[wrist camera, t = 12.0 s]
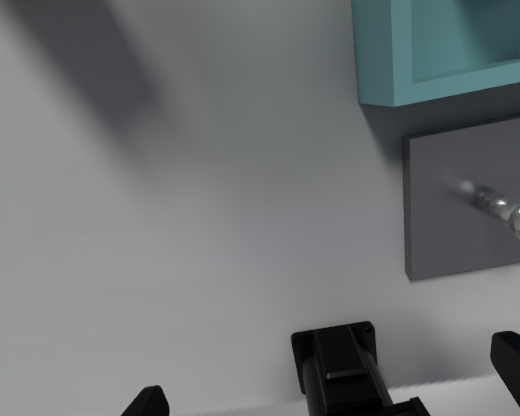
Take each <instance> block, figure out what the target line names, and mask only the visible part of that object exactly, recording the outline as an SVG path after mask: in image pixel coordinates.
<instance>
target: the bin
mask: <svg viewBox="0 0 520 416" xmlns="http://www.w3.org/2000/svg"><path fill="white" fill-rule="evenodd" d="M351 5H352V18H353V32H354V46H355V59H356V73H357V87H358V100H359V103H361V104H370V105H380V106H389V107H397V106H402V105H407V104H412V103H417V102H422V101H427V100H432V99H437V98H442V97H447V96H452V95H457V94H462V93H467V92H472V91H477V90H482V89H487V88H492V87H497V86H502V85H507V84H512V83H517V82H520V0H351Z"/></svg>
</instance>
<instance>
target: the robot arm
mask: <svg viewBox="0 0 520 416" xmlns="http://www.w3.org/2000/svg"><path fill="white" fill-rule="evenodd" d="M366 328H368V329H366ZM295 339H299V340H295ZM291 343H292V348H293V353H294V358H295V363H296V367H297V372H298V377H299V382H300V387H301V392H302V393H303V394H305V395H306V398H307V404H308V410H309V416H430V414H429V413H428V411H427V410H426V408H425V406H424V405H423V403H422V402H421V400H420V399H419V397H414V398H410V400H409V401H405V402H401V403H397V404H393V402H392V400H391V397H390V395H389V393H388V390H387V388H386V386H385V384H384V381H383V379H382V377H381V375H380V372H379V370H378V368H377V357H376V343H375V330H374V327H373V325H372V323H371V322H369V321H365V322H359V323H353V324H347V325H340V326H334V327H328V328H322V329H315V330H309V331H303V332H297V333H294V334H292V336H291ZM490 358H491V361H492V364H493V366H494V368H495V369H496V371H497V372H498V374H499V375H500V377H501V379H502V380H503V382H504V383H505V385H506V386H507V388H508V390H509V391H510V393H511V394H512V396H513V398H514V399H515V401H516V402H517V404H518V405H519V407H520V335H519V334H517V333H515V332H513V331H503V332H497V333H494V334H493V336H492V343H491V353H490ZM169 413H170V410H169V404H168V402H167V399H166V397H165V395H164V392H163V390H162V388H161V387H160V386H159V385H155V386H148V387H145V388H144V389H143V390H142V391H141V392H140V393H139V394H138V396H137V397H136V398H135V399H134V400H133V401H132V403H131V404H130V405H129V406H128V407H127V409H126V410H125V411H124V412H123V413H122V415H121V416H169Z"/></svg>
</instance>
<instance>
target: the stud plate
mask: <svg viewBox="0 0 520 416" xmlns="http://www.w3.org/2000/svg"><path fill="white" fill-rule="evenodd" d="M402 155H403V193H404V232H405V270H406V274H407V275H408V276H409V277H410V278H411V280H417V279H423V278H429V277H435V276H441V275H447V274H453V273H459V272H465V271H471V270H477V269H483V268H489V267H495V266H501V265H507V264H513V263H519V262H520V114H518V115H513V116H508V117H502V118H497V119H492V120H487V121H482V122H477V123H471V124H466V125H461V126H456V127H451V128H446V129H441V130H435V131H430V132H425V133H420V134H415V135H410V136H404V137H402Z"/></svg>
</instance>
